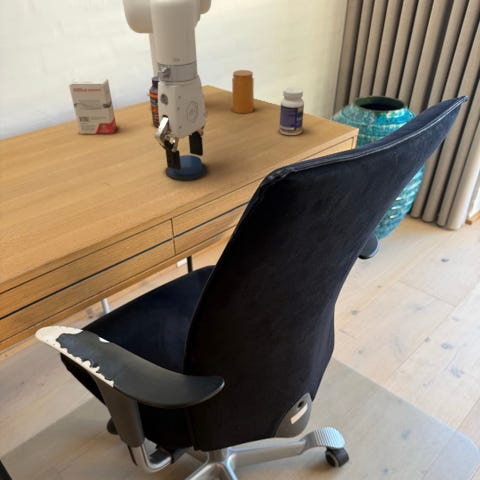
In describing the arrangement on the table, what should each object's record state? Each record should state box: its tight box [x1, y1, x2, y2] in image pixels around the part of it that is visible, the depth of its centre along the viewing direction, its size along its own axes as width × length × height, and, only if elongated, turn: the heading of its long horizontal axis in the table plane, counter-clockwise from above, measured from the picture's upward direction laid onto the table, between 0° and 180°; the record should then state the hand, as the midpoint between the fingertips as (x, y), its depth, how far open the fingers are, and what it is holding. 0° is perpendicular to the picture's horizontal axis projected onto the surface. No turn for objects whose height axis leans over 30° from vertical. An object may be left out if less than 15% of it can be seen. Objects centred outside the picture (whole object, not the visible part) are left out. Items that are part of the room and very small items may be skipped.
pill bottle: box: [279, 87, 305, 136], centre depth 117 cm, size 6×6×10 cm
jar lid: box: [172, 154, 203, 176], centre depth 103 cm, size 6×6×2 cm
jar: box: [231, 69, 255, 114], centre depth 129 cm, size 6×6×10 cm
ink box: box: [68, 78, 117, 135], centre depth 118 cm, size 8×5×12 cm, turn 89°
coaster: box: [165, 162, 208, 182], centre depth 103 cm, size 9×9×1 cm
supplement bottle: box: [148, 76, 160, 128], centre depth 121 cm, size 6×6×11 cm
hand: (185, 160), depth 102 cm, fingers open, 7 cm apart
